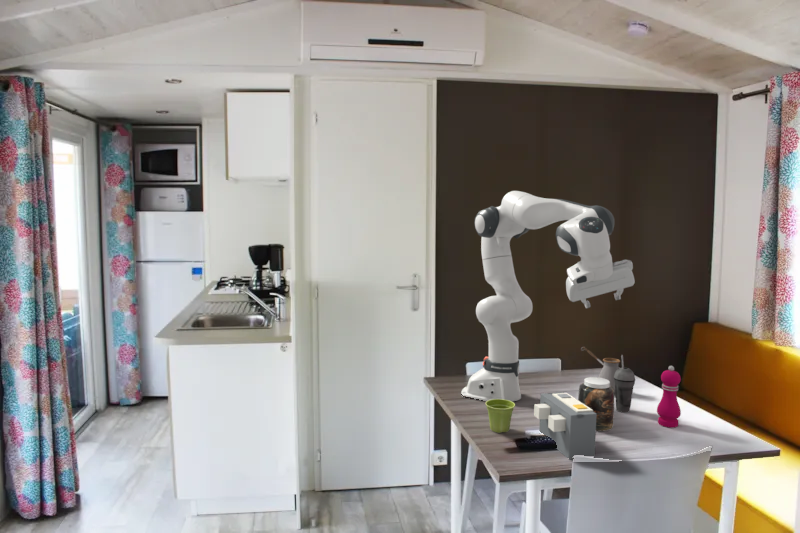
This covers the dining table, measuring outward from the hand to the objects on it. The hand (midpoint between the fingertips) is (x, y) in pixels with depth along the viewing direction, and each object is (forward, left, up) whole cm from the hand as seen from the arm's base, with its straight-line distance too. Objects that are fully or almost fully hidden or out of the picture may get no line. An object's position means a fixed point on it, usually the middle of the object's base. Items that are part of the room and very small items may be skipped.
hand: (602, 302), depth 188 cm
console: (-9, -13, -42) cm, 45 cm away
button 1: (-16, -12, -35) cm, 40 cm away
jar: (-1, +8, -42) cm, 43 cm away
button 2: (-10, -20, -35) cm, 42 cm away
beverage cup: (+8, +26, -42) cm, 50 cm away
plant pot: (-30, -8, -42) cm, 52 cm away
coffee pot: (0, +50, -42) cm, 65 cm away
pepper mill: (+22, +17, -42) cm, 51 cm away
